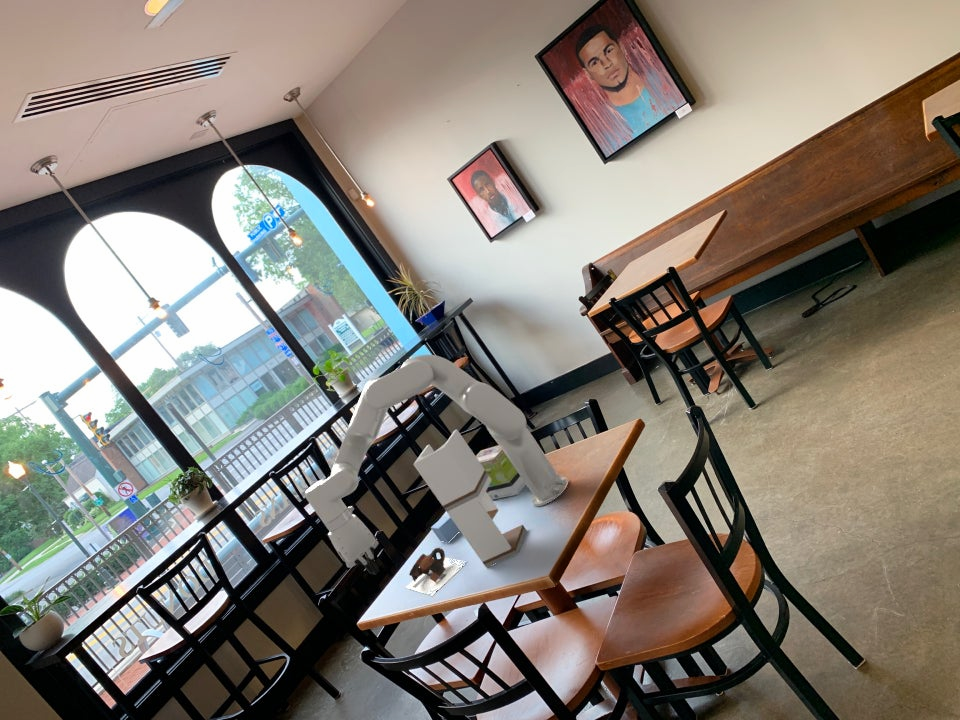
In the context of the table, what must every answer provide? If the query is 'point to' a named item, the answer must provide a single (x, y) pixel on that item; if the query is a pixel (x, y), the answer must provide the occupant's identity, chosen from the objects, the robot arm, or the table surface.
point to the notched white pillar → (468, 498)
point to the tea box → (500, 473)
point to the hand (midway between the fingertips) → (375, 572)
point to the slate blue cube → (445, 529)
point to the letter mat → (427, 584)
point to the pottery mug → (429, 565)
